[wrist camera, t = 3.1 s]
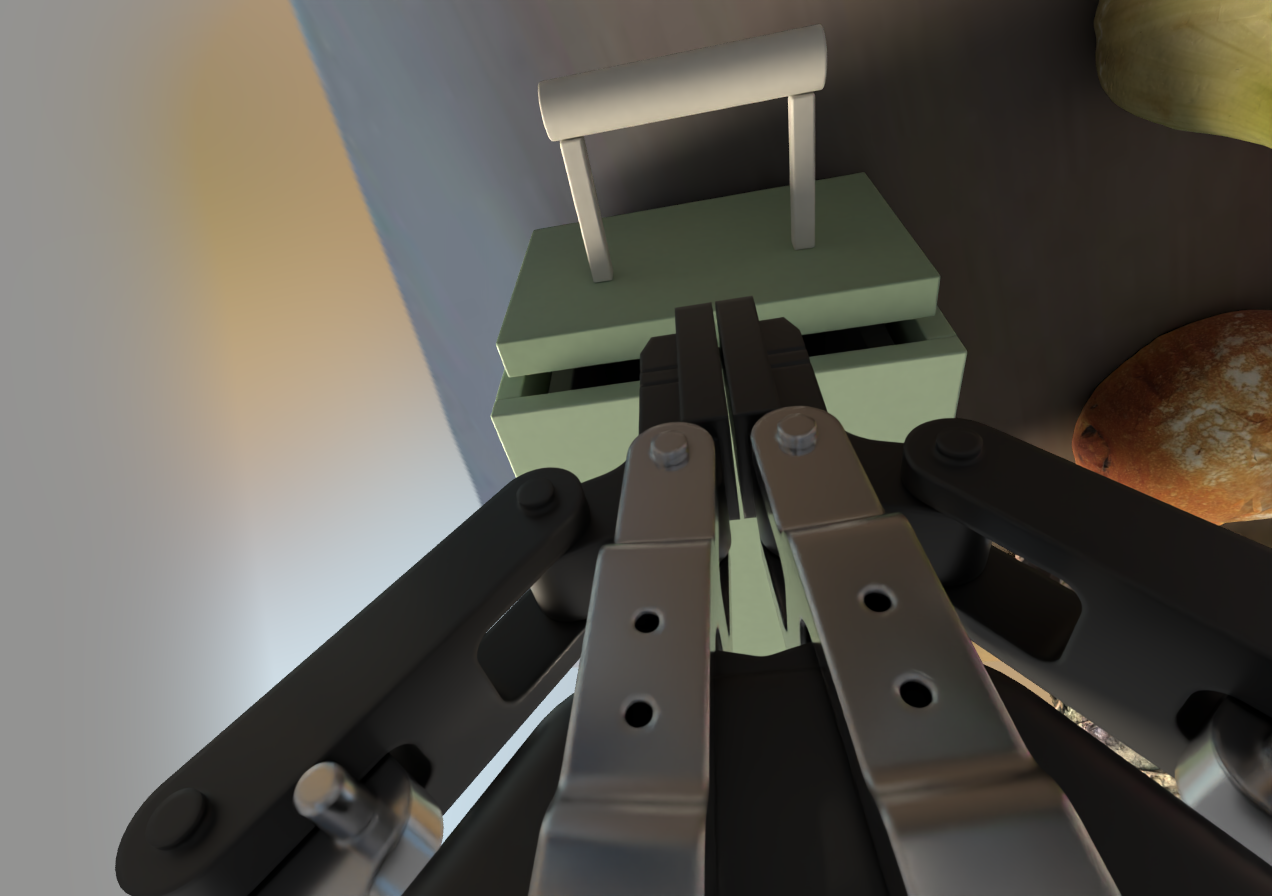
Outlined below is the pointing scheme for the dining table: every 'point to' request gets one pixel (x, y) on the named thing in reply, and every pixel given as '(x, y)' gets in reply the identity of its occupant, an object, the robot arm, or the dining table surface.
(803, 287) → the green pull-out drawer
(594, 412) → the green drawer cabinet
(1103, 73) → the fennel bulb
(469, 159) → the dining table surface
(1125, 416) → the bread roll
